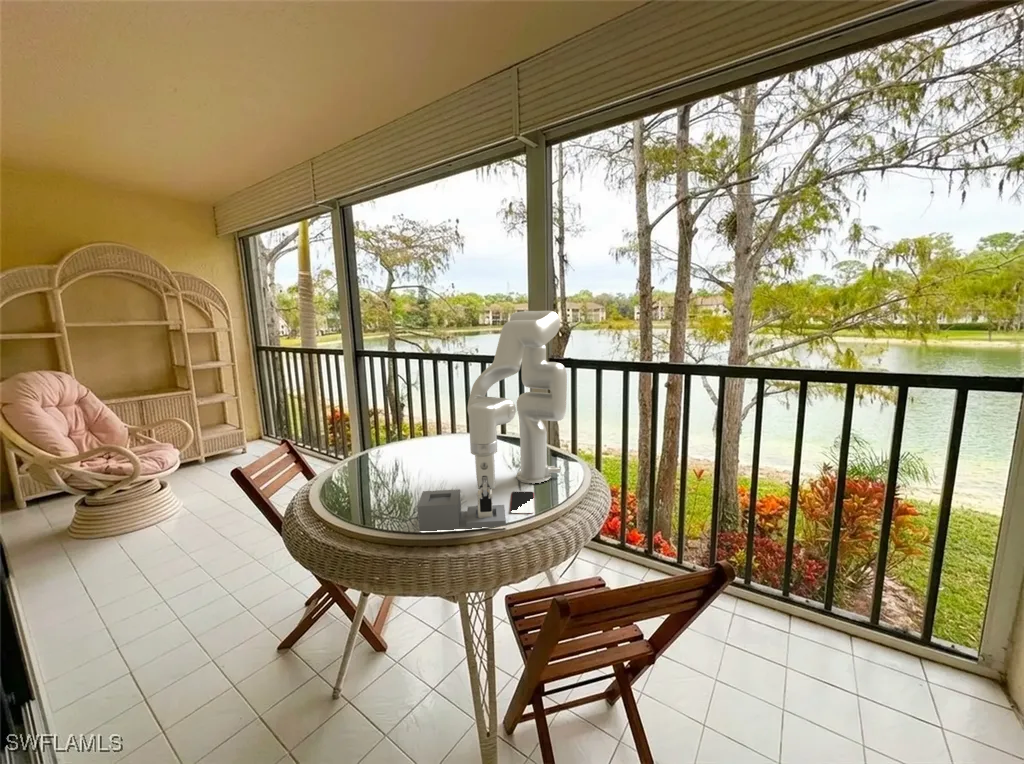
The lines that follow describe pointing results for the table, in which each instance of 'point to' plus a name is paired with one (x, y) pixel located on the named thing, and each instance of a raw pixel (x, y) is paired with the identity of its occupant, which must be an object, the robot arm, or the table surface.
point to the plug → (480, 514)
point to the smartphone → (520, 499)
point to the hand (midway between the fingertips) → (486, 503)
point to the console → (453, 512)
